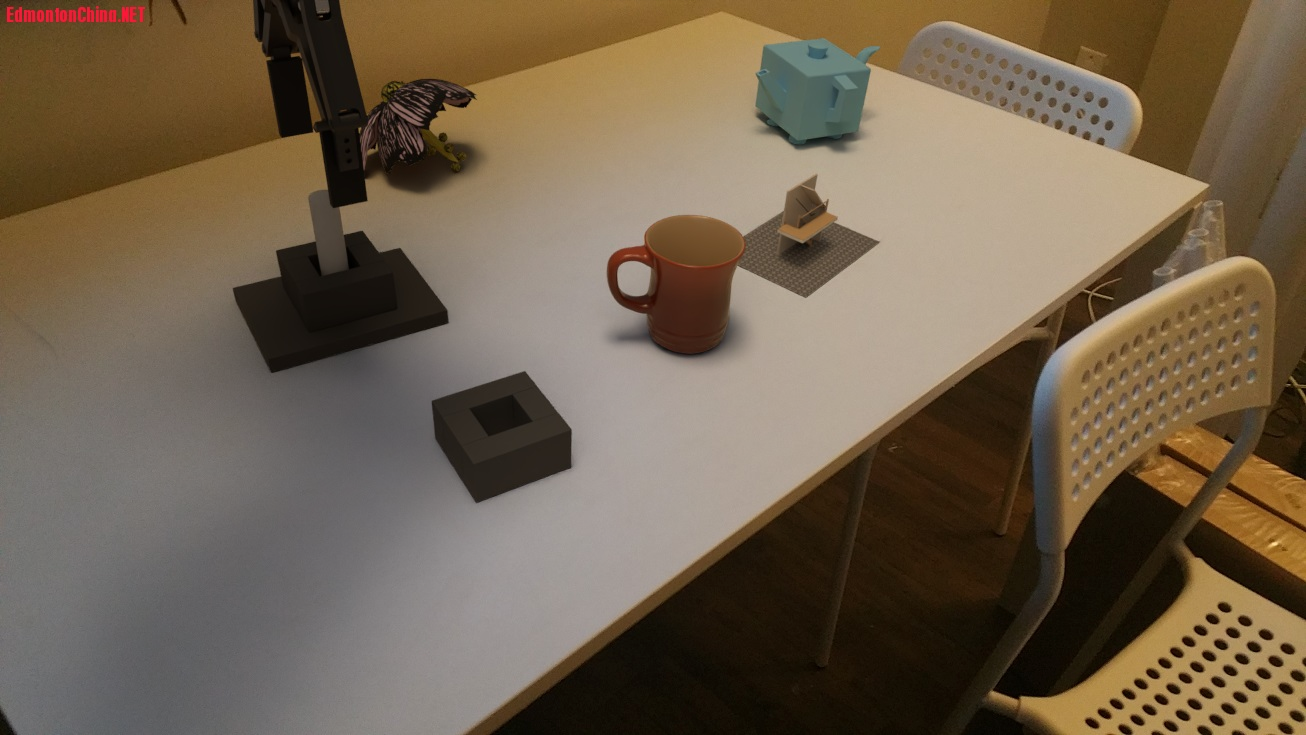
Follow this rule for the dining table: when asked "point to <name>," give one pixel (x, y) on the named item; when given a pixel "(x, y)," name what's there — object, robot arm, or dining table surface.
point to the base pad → (294, 345)
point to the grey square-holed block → (501, 435)
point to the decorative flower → (411, 122)
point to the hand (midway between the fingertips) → (321, 166)
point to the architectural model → (803, 243)
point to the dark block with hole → (337, 284)
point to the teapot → (813, 88)
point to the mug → (683, 280)
